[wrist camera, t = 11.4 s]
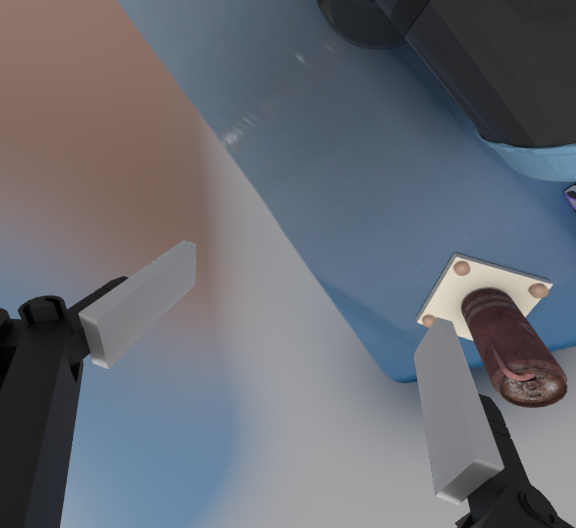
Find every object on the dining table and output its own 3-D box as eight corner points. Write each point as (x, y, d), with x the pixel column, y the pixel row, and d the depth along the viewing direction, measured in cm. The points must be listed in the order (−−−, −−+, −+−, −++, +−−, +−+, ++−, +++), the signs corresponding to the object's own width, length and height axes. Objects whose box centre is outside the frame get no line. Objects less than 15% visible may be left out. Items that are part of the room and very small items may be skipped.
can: (477, 279, 38) (523, 356, 26) (522, 298, 37) (590, 386, 26) (449, 310, 41) (479, 392, 29) (490, 328, 41) (538, 419, 29)
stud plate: (454, 252, 38) (457, 259, 37) (548, 279, 37) (556, 288, 35) (416, 317, 44) (417, 326, 43) (495, 343, 43) (500, 352, 41)
